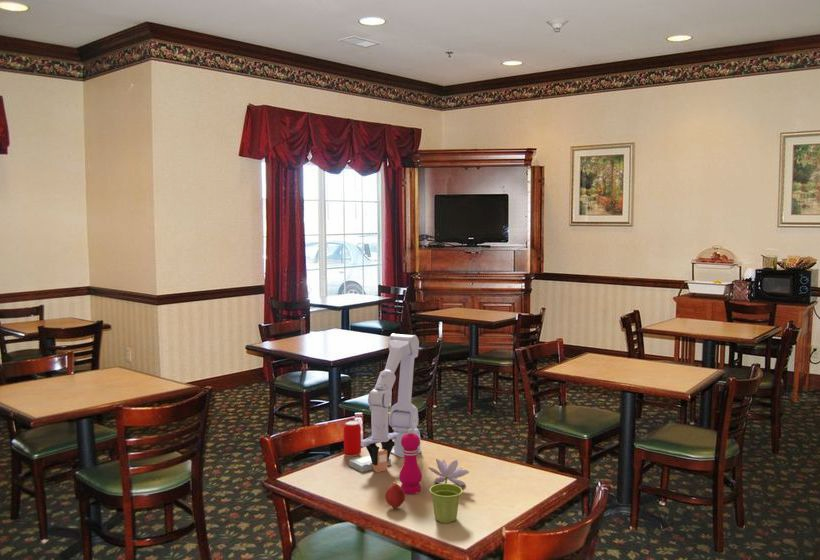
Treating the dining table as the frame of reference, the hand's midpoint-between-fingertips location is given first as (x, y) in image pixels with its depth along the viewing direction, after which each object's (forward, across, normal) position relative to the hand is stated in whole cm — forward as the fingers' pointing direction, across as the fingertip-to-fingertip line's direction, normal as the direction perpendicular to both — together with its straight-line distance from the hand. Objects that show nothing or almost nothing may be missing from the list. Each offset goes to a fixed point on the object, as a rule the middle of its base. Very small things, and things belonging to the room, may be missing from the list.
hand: (380, 463), depth 238 cm
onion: (+3, -15, -29) cm, 33 cm away
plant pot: (+3, -8, -44) cm, 45 cm away
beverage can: (+3, +1, +19) cm, 19 cm away
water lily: (+3, +9, -27) cm, 28 cm away
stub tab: (+2, 0, 0) cm, 2 cm away
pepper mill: (+3, -3, -21) cm, 21 cm away
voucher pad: (+2, 0, +6) cm, 6 cm away
